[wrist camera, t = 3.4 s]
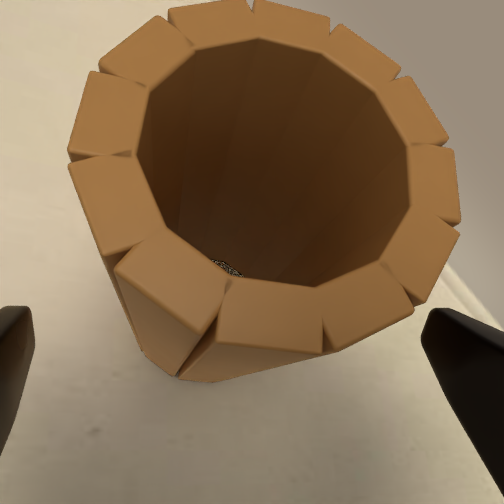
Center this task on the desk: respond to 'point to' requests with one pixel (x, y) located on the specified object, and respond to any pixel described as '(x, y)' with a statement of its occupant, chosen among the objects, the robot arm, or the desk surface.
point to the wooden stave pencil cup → (260, 187)
